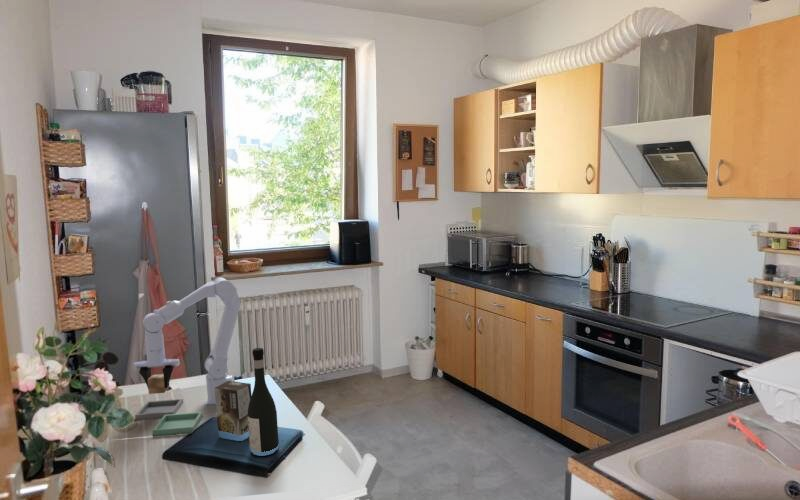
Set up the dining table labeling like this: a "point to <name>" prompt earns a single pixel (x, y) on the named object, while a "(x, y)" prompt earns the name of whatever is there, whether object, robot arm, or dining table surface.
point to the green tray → (177, 424)
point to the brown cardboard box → (156, 384)
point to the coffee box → (233, 407)
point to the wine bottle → (261, 410)
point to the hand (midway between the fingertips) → (158, 387)
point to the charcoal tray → (158, 409)
